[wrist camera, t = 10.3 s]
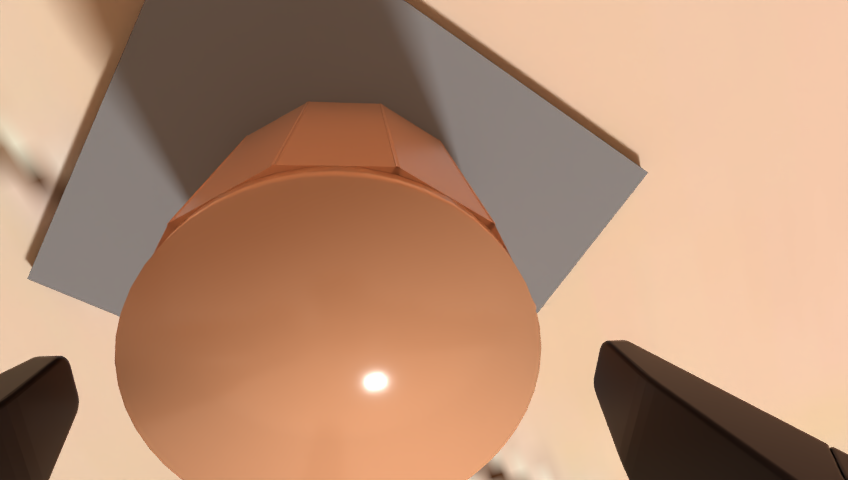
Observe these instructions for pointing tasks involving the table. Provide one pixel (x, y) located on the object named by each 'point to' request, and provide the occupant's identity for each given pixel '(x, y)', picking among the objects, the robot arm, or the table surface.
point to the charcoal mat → (316, 82)
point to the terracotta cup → (329, 312)
